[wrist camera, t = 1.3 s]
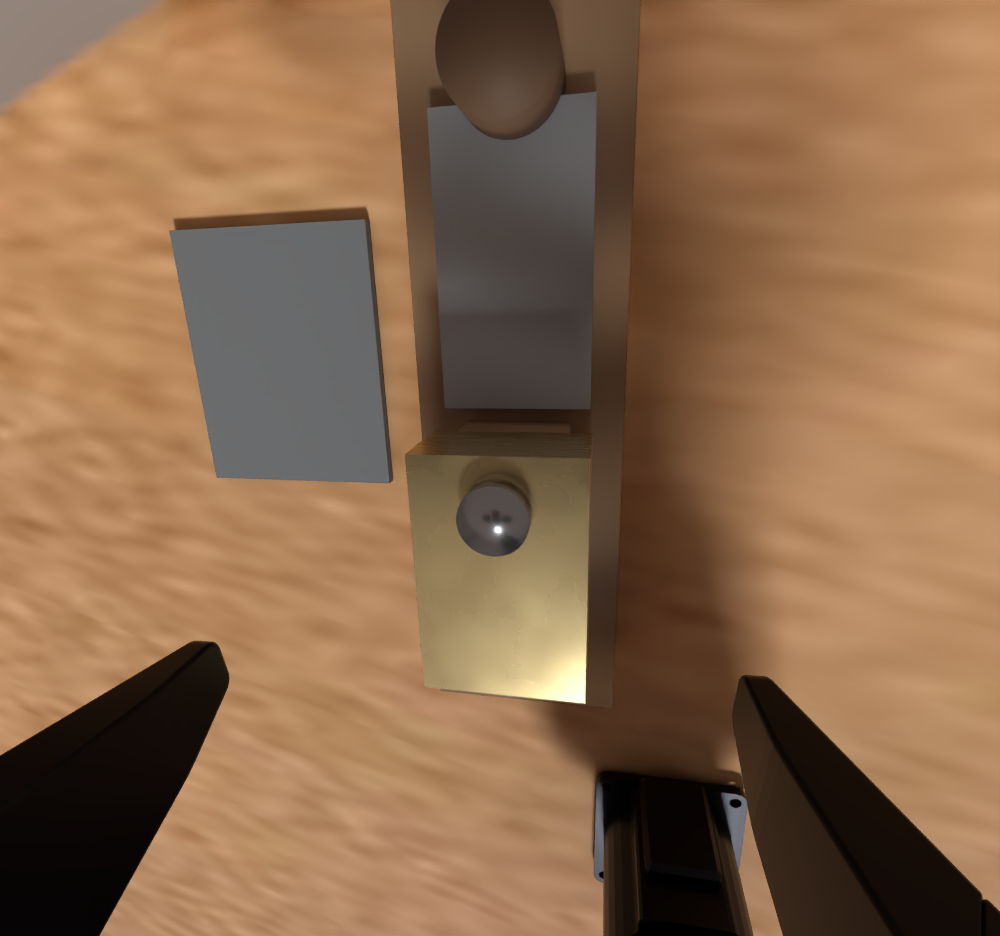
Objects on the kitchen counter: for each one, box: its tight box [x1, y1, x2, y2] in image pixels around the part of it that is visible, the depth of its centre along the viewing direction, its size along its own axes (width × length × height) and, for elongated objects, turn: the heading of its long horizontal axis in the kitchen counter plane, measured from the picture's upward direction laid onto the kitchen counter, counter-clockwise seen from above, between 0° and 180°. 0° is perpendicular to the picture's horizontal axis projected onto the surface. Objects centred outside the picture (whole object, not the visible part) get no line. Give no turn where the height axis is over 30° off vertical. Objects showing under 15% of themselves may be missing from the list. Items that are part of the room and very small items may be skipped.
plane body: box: [390, 0, 641, 709], centre depth 18 cm, size 22×6×6 cm, turn 2°
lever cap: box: [405, 431, 593, 703], centre depth 15 cm, size 7×5×3 cm, turn 2°
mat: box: [170, 219, 393, 483], centre depth 22 cm, size 10×8×1 cm
